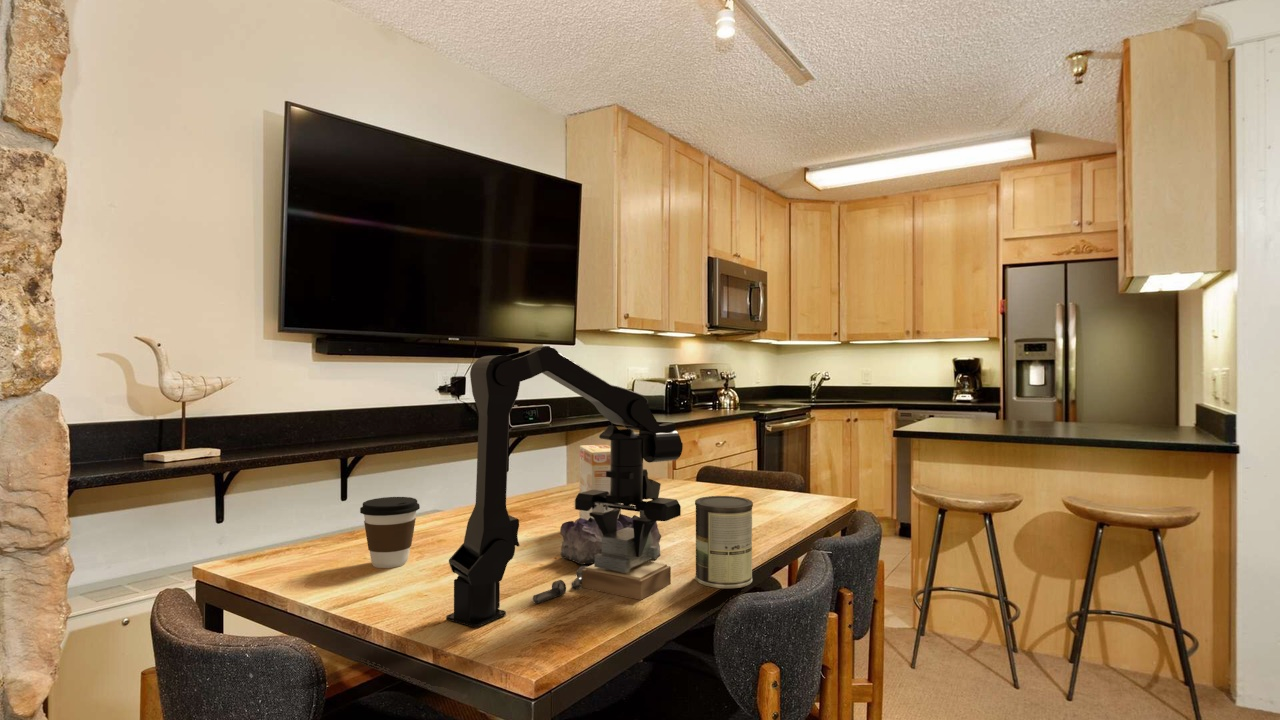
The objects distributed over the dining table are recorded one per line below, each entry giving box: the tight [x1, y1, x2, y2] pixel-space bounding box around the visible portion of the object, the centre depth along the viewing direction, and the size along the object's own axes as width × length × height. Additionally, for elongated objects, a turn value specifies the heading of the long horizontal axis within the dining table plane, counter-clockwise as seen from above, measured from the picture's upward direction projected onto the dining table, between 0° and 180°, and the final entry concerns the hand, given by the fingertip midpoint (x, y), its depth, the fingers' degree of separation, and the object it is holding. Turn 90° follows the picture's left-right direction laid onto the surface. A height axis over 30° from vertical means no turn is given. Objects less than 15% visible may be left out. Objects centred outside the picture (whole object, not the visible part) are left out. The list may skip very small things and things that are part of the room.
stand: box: [581, 560, 672, 601], centre depth 119 cm, size 10×12×3 cm
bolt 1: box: [532, 579, 567, 605], centre depth 112 cm, size 6×2×2 cm, turn 141°
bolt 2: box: [571, 565, 588, 590], centre depth 120 cm, size 6×2×2 cm, turn 169°
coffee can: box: [694, 495, 754, 589], centre depth 123 cm, size 10×10×14 cm
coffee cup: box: [359, 496, 421, 569], centre depth 132 cm, size 11×11×12 cm
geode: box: [559, 513, 662, 565], centre depth 136 cm, size 20×12×10 cm, turn 109°
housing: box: [594, 527, 659, 573], centre depth 119 cm, size 10×6×5 cm, turn 149°
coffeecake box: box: [578, 444, 622, 520], centre depth 158 cm, size 15×7×20 cm, turn 15°
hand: (626, 554), depth 119 cm, fingers closed on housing, 5 cm apart
